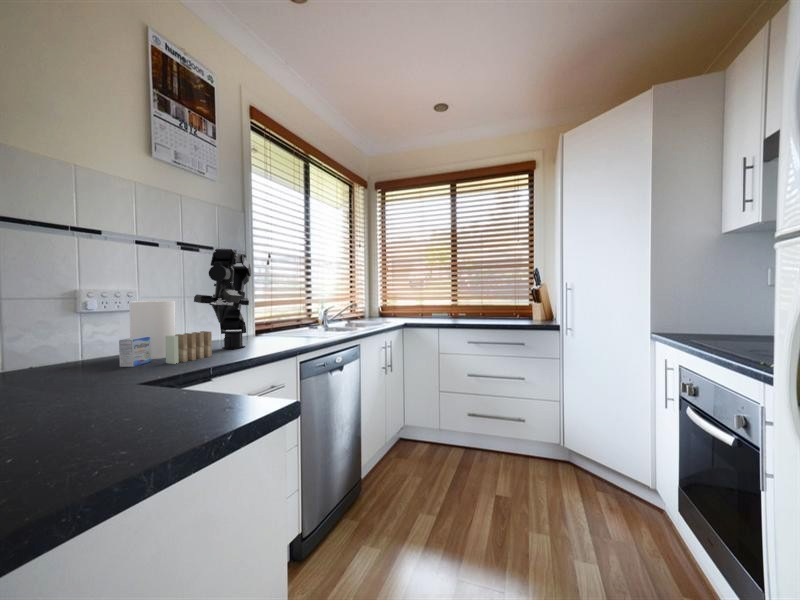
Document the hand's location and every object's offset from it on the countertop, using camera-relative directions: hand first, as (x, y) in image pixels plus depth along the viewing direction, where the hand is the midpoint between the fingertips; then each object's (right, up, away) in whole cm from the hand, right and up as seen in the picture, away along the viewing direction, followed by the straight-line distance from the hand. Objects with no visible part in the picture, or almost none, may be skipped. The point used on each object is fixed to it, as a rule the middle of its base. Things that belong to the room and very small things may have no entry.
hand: (220, 322), depth 136 cm
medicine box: (-17, -12, -21) cm, 29 cm away
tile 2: (-3, -12, -10) cm, 15 cm away
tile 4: (-5, -12, -16) cm, 20 cm away
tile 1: (-2, -12, -7) cm, 14 cm away
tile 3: (-4, -12, -13) cm, 18 cm away
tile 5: (-7, -12, -19) cm, 23 cm away
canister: (-21, -12, -6) cm, 25 cm away
